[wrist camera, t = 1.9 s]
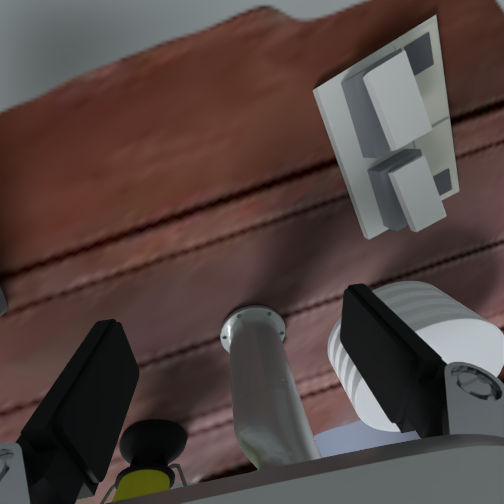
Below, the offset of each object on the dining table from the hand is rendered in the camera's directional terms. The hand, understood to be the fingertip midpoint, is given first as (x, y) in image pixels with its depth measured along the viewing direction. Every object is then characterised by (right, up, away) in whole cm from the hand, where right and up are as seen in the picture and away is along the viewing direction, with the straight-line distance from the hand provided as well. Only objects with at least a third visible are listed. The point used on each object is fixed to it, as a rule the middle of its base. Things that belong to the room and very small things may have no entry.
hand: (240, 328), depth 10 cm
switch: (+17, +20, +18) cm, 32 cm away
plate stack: (+31, -15, +43) cm, 54 cm away
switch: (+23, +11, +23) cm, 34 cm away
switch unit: (+21, +19, +26) cm, 38 cm away
